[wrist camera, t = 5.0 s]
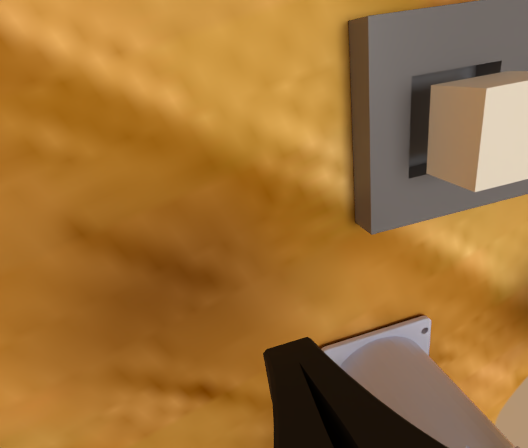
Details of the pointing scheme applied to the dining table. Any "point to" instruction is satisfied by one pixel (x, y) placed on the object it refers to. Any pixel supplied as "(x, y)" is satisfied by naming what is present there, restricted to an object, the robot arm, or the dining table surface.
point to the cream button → (479, 130)
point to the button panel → (421, 102)
